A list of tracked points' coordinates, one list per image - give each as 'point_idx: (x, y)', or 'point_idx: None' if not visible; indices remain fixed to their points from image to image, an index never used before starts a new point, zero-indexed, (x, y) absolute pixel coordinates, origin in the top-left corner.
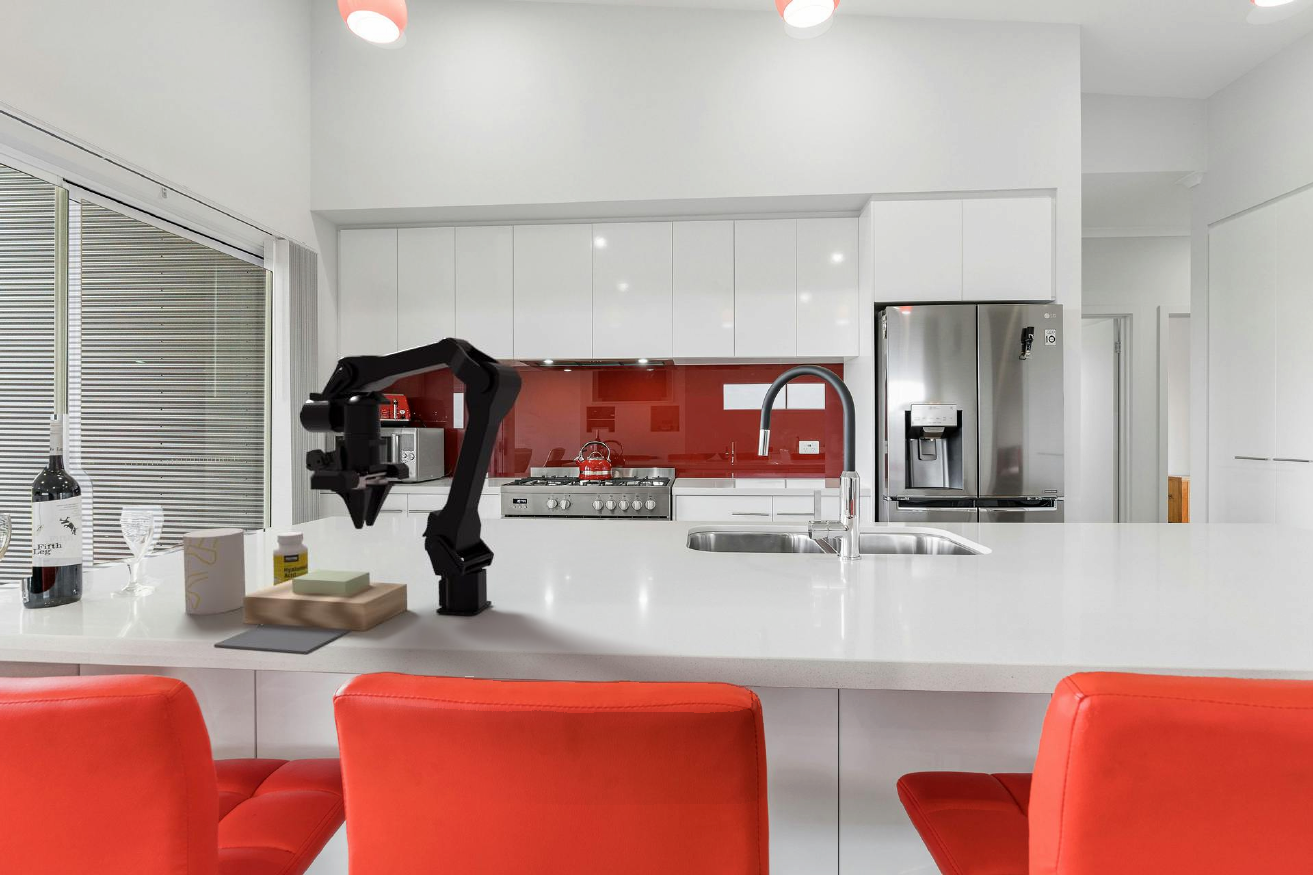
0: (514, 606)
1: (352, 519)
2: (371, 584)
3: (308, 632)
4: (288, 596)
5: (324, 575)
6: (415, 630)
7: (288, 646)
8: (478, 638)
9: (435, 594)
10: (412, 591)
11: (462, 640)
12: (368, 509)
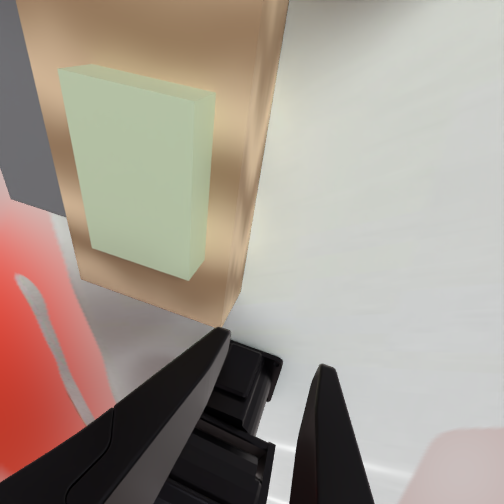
0: (263, 415)
1: (174, 361)
2: (207, 263)
3: None
4: (53, 83)
5: (126, 167)
6: (140, 312)
7: (8, 161)
8: (134, 370)
9: (354, 329)
10: (396, 284)
11: (124, 357)
12: (307, 482)
